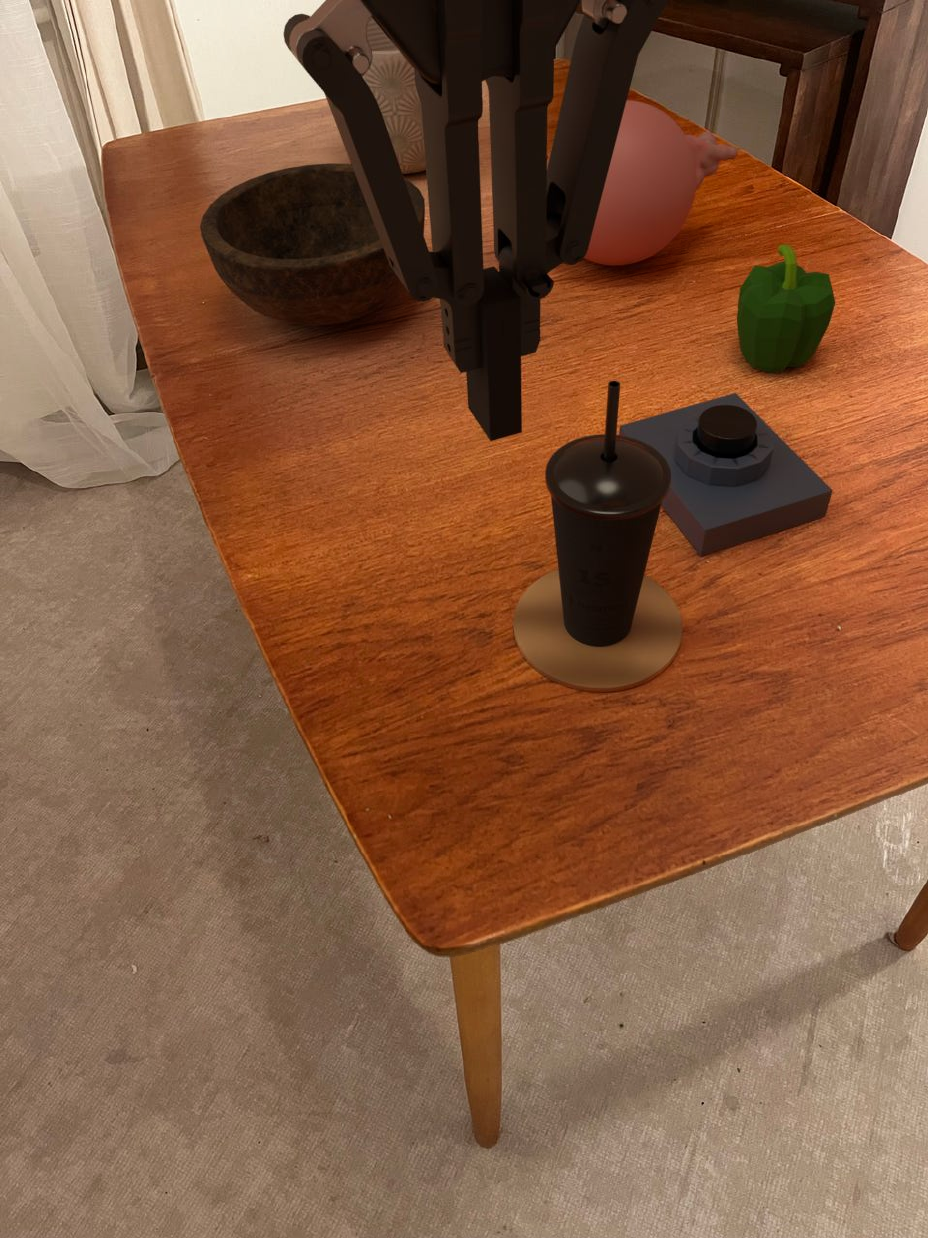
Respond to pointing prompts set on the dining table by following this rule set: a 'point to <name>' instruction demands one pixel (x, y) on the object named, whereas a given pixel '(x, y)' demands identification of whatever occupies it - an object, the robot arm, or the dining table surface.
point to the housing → (730, 481)
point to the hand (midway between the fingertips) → (494, 419)
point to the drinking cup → (604, 526)
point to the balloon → (650, 185)
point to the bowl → (302, 245)
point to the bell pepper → (783, 314)
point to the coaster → (588, 665)
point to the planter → (396, 99)
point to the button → (726, 431)
